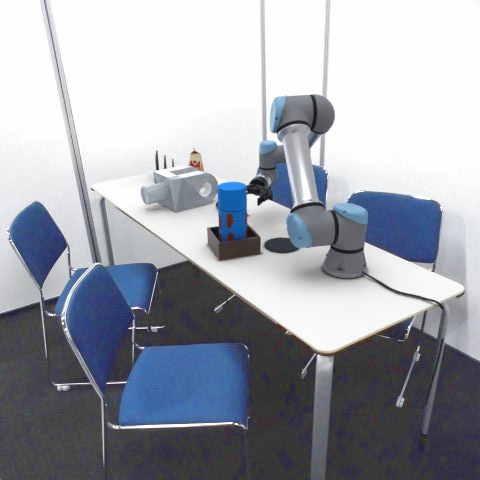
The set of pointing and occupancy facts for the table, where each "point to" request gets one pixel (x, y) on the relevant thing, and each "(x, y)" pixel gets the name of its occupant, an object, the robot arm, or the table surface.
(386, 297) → the table surface
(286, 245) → the mat
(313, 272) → the table surface
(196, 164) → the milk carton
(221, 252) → the box
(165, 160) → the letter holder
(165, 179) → the grey clevis bracket
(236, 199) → the thermos
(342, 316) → the table surface
